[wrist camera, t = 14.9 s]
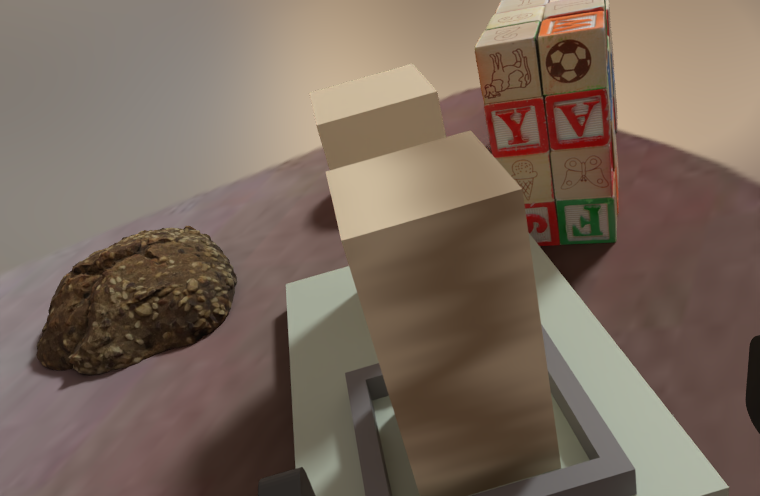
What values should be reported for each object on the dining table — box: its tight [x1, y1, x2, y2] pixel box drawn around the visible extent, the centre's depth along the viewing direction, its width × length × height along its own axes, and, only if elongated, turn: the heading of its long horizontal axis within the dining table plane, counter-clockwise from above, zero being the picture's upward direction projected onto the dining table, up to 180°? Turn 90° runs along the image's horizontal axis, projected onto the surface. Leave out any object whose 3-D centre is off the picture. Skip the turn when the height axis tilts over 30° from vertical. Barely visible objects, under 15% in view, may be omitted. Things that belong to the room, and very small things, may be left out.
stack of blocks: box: [475, 0, 618, 246], centre depth 43 cm, size 21×6×12 cm, turn 163°
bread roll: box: [37, 226, 237, 375], centre depth 41 cm, size 13×12×5 cm
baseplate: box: [286, 64, 729, 496], centre depth 27 cm, size 14×20×12 cm
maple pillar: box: [326, 131, 561, 496], centre depth 22 cm, size 5×5×11 cm
